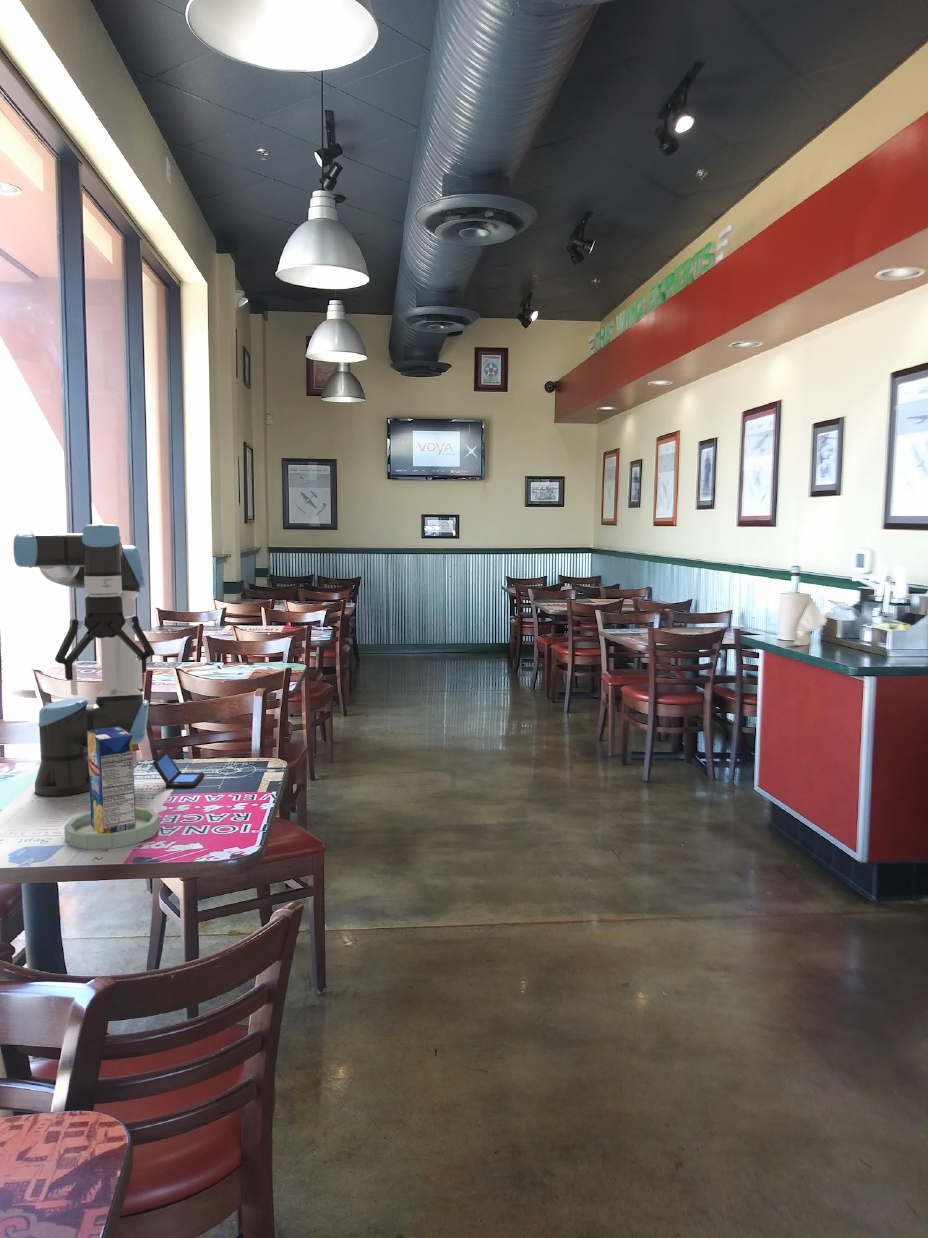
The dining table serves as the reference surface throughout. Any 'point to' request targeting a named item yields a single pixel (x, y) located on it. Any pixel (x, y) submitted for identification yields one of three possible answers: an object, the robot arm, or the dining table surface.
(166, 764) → the handheld game console
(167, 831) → the dining table surface
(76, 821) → the round tray
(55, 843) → the dining table surface
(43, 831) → the dining table surface
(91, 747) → the beverage box
